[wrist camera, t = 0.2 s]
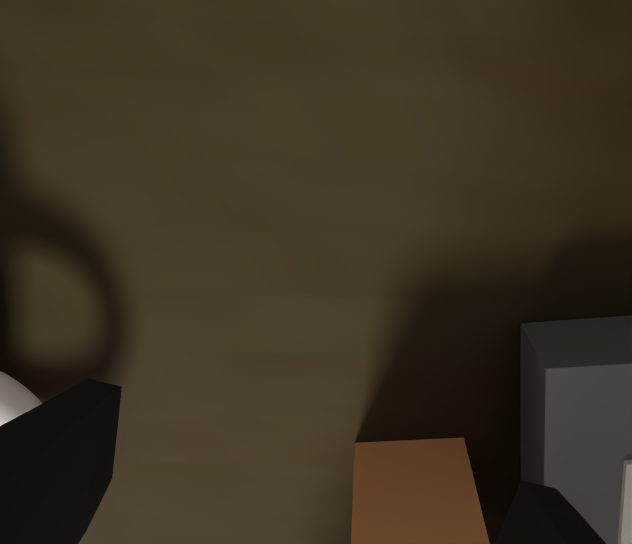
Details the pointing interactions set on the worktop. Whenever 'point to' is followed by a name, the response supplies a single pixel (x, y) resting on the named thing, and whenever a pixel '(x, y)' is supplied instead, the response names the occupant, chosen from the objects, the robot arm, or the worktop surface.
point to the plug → (415, 494)
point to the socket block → (580, 417)
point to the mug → (14, 399)
